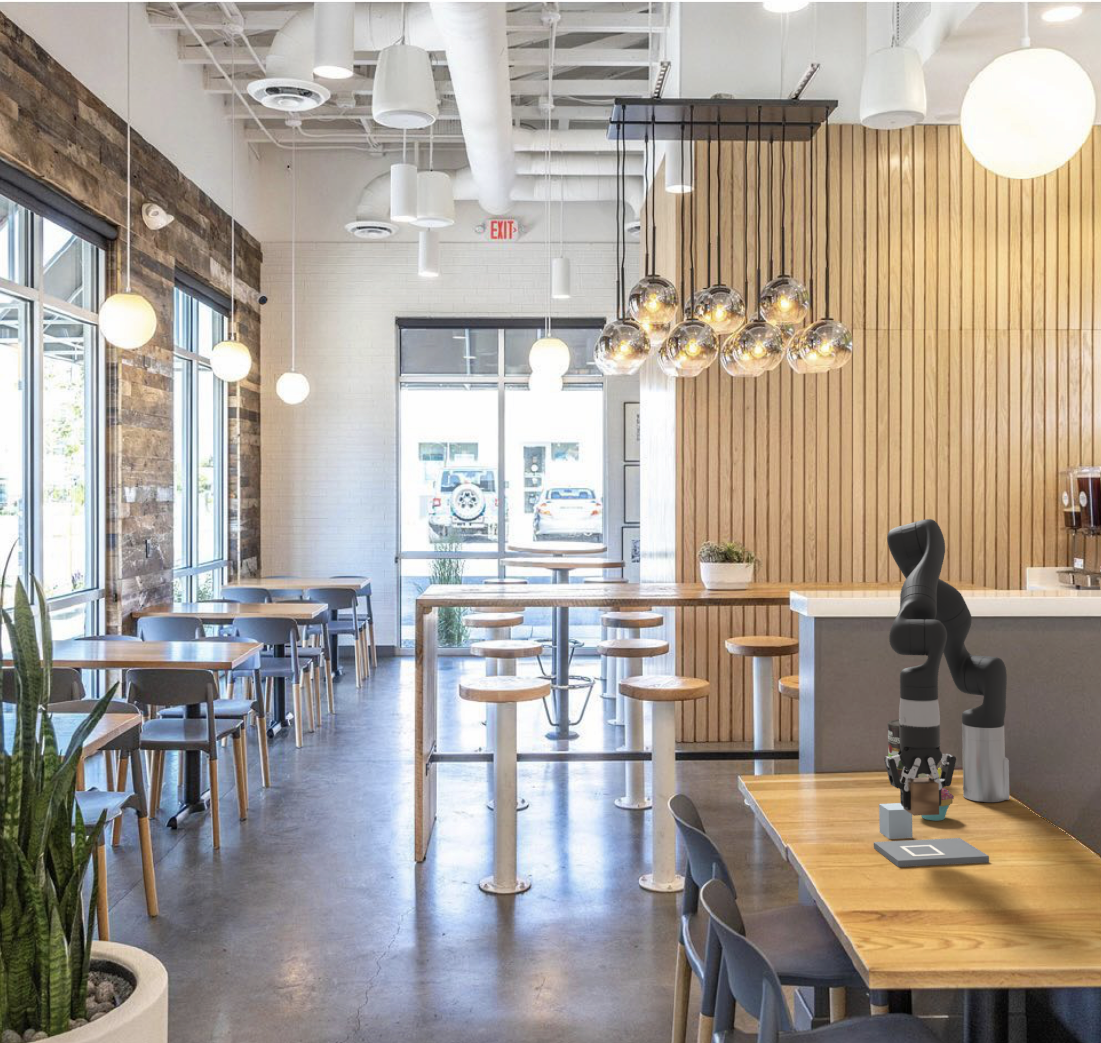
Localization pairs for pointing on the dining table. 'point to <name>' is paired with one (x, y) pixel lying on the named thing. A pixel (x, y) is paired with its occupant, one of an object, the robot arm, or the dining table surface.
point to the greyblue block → (895, 821)
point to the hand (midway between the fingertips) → (920, 808)
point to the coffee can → (896, 745)
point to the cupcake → (945, 802)
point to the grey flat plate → (930, 852)
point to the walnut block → (924, 797)
